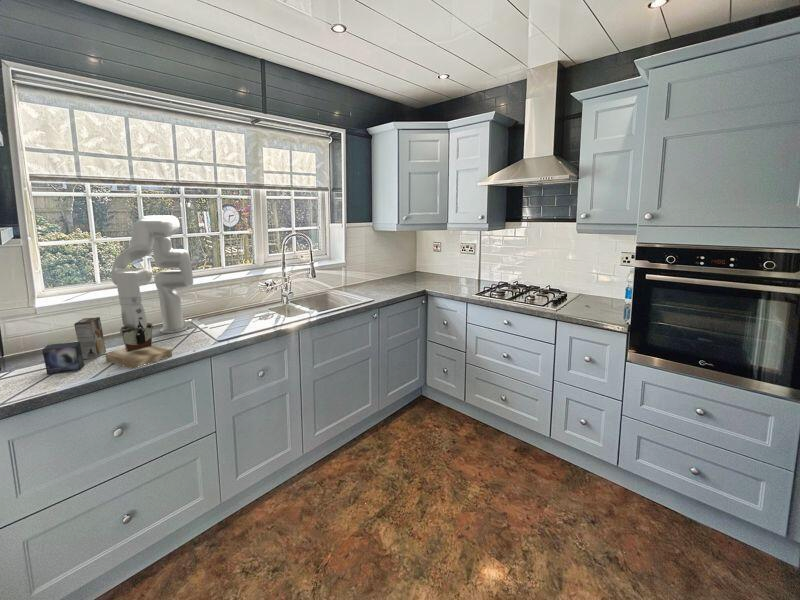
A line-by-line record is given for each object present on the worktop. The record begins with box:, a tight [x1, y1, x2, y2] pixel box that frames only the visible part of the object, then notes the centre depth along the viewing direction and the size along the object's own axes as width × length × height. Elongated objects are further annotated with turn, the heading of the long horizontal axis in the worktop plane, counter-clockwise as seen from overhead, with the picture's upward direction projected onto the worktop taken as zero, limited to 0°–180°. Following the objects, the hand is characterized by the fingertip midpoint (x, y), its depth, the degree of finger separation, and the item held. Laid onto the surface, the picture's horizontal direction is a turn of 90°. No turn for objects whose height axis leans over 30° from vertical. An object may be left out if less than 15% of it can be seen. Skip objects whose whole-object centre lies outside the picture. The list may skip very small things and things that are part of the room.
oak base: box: [105, 344, 173, 369], centre depth 171 cm, size 16×20×3 cm
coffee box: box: [73, 316, 107, 360], centre depth 173 cm, size 9×6×16 cm
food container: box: [119, 322, 154, 352], centre depth 169 cm, size 12×6×10 cm, turn 143°
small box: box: [41, 341, 85, 375], centre depth 158 cm, size 11×6×10 cm, turn 114°
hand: (137, 342), depth 170 cm, fingers closed on food container, 5 cm apart
